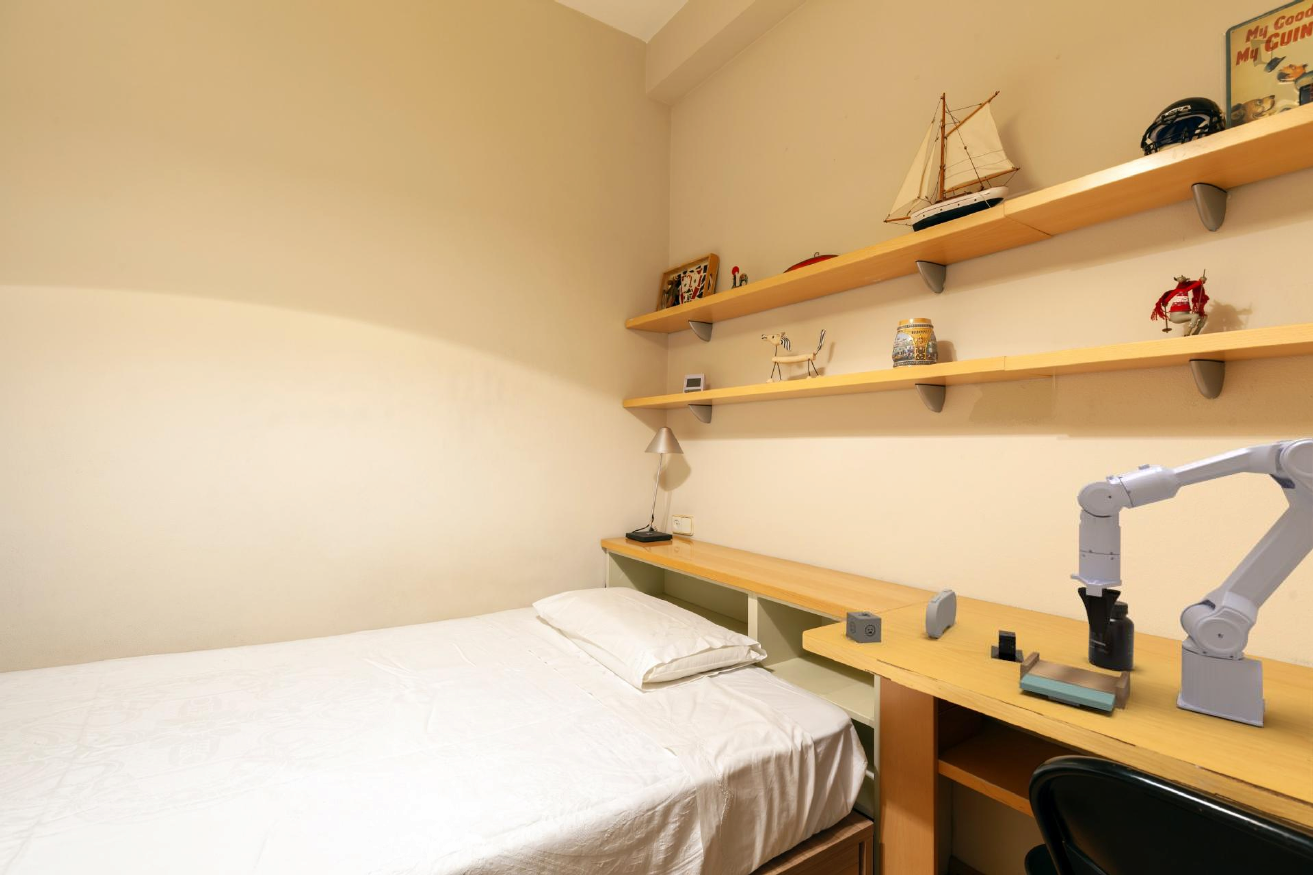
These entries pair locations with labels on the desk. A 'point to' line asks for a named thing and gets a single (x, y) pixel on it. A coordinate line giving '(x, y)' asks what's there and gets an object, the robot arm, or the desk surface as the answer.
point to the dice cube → (863, 627)
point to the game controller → (940, 613)
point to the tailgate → (1068, 692)
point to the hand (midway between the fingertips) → (1098, 632)
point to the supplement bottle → (1114, 642)
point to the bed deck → (1078, 677)
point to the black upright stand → (1007, 648)
